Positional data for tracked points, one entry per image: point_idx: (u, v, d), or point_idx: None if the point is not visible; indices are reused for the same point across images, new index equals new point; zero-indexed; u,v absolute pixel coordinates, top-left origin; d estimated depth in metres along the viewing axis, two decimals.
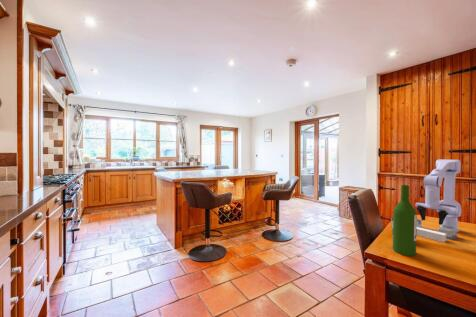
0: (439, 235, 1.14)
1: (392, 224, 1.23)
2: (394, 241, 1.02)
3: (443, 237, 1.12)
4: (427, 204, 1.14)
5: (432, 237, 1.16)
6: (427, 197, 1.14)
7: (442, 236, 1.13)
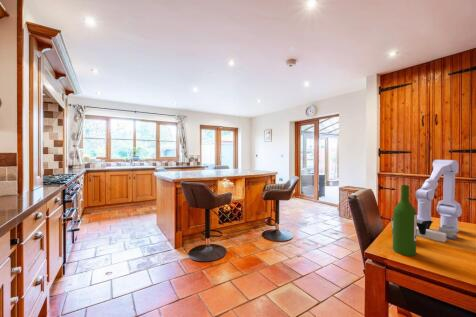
0: (439, 235, 1.14)
1: (392, 224, 1.22)
2: (394, 241, 1.02)
3: (443, 237, 1.12)
4: None
5: (432, 237, 1.16)
6: None
7: (442, 236, 1.13)
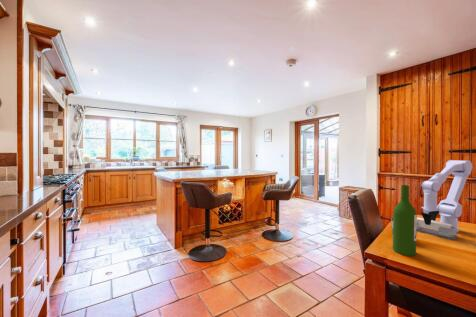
0: (444, 226, 1.19)
1: (392, 224, 1.22)
2: (394, 241, 1.02)
3: (448, 227, 1.17)
4: None
5: (438, 228, 1.21)
6: None
7: (447, 226, 1.18)
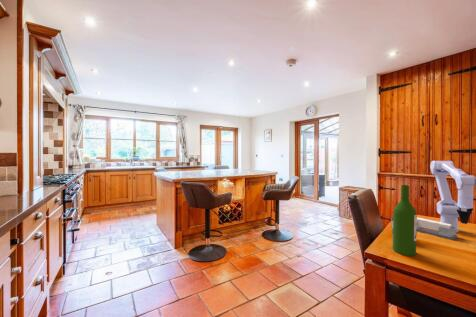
0: (444, 226, 1.19)
1: (392, 224, 1.23)
2: (394, 241, 1.02)
3: (448, 227, 1.17)
4: None
5: (438, 228, 1.21)
6: None
7: (447, 226, 1.18)
